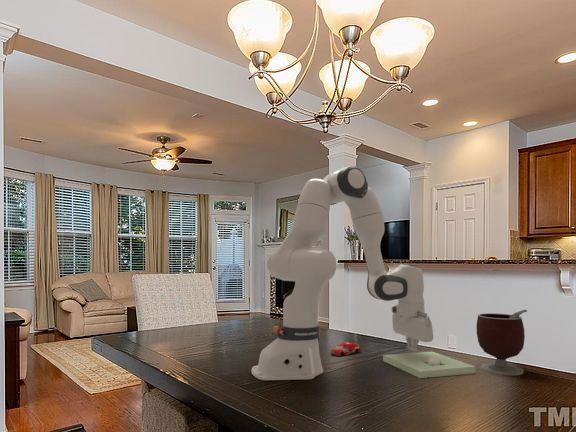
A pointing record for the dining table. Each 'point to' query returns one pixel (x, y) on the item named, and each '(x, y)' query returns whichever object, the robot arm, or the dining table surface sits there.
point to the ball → (433, 361)
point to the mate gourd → (501, 340)
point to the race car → (346, 349)
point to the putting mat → (421, 369)
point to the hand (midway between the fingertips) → (412, 350)
